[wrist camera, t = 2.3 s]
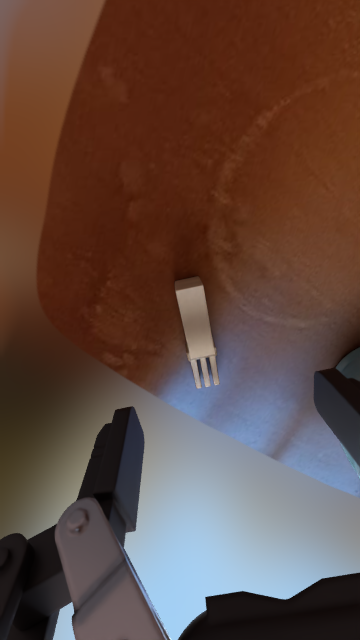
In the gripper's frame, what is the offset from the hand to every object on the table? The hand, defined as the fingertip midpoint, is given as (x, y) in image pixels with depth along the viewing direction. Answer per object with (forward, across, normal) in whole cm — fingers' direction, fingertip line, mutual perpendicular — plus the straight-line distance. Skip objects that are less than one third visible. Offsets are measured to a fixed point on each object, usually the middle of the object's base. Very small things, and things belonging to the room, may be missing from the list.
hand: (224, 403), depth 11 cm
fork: (+15, 0, +4) cm, 15 cm away
